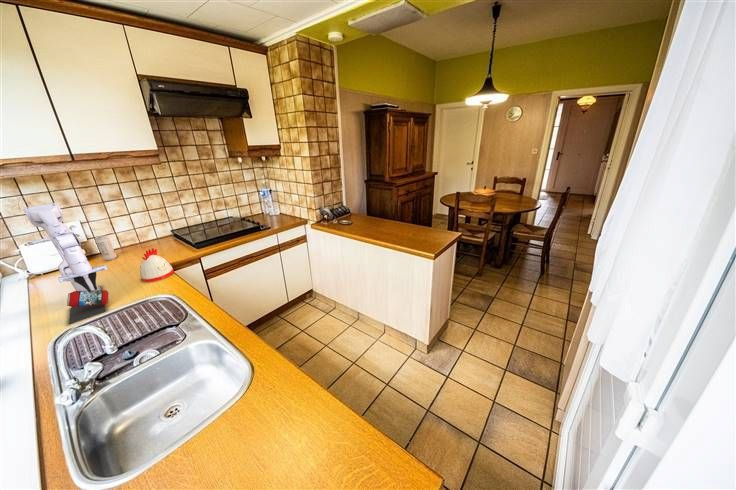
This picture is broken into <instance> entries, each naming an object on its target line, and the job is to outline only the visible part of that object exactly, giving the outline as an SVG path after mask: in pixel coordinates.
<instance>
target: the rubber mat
mask: <svg viewBox="0 0 736 490" xmlns="http://www.w3.org/2000/svg"><path fill="white" fill-rule="evenodd" d="M102 313H106V305H101V306H87V307H70V310H69V318H68V325H71V324H72V325H73V324H74V323H77V322H80V321H83V320H87V319H88V318H92V317H94V316H98V315H100V314H102Z"/></svg>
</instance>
